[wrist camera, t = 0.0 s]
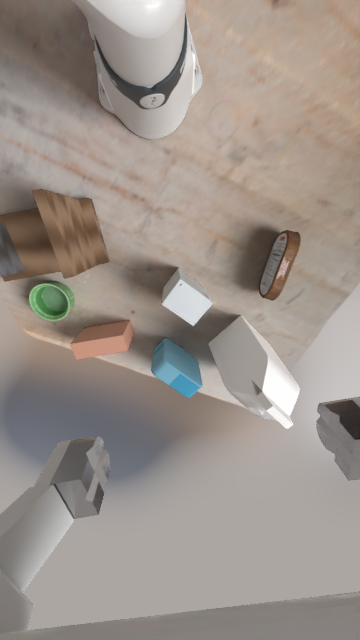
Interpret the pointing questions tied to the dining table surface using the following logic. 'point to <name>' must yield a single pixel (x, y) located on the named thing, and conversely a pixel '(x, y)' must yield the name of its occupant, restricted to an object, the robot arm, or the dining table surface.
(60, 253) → the shelf stand
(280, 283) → the tin
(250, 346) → the milk
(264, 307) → the dining table surface
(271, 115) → the dining table surface
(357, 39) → the dining table surface
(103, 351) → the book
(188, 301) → the small box
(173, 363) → the data package
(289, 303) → the dining table surface
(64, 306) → the ramekin
